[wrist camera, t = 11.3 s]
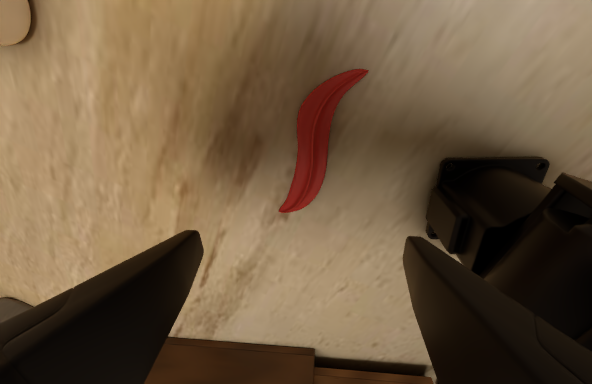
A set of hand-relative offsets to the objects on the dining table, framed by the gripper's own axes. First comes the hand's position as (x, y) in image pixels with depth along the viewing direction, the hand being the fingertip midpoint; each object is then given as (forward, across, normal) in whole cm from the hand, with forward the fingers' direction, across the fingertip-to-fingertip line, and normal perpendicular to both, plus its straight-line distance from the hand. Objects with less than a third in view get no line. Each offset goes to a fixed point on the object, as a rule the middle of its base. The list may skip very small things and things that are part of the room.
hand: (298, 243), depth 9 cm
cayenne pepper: (+11, 0, 0) cm, 11 cm away
